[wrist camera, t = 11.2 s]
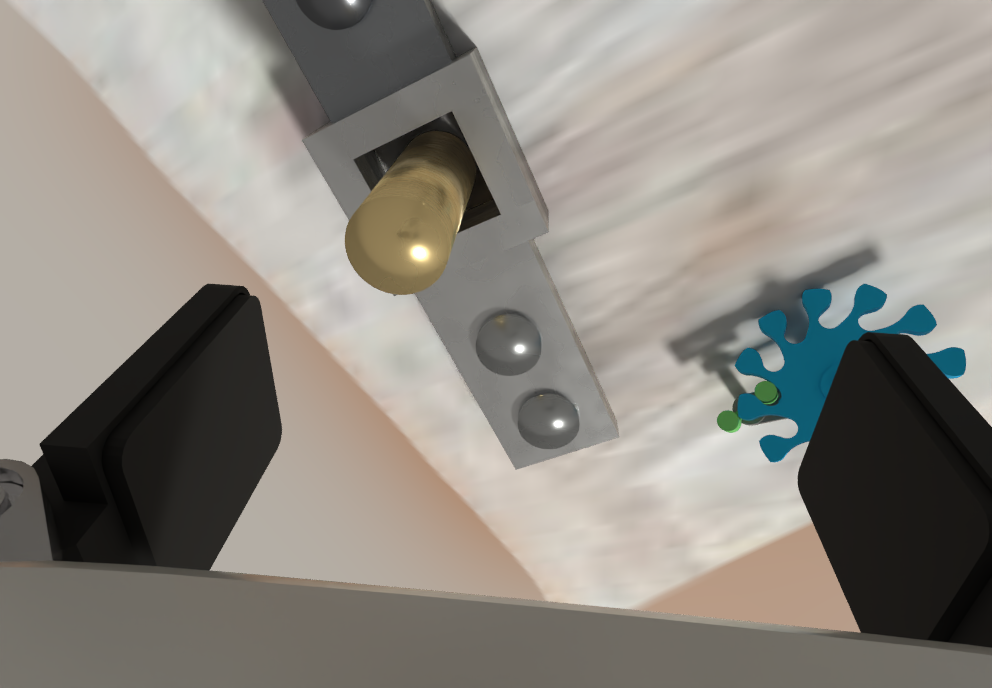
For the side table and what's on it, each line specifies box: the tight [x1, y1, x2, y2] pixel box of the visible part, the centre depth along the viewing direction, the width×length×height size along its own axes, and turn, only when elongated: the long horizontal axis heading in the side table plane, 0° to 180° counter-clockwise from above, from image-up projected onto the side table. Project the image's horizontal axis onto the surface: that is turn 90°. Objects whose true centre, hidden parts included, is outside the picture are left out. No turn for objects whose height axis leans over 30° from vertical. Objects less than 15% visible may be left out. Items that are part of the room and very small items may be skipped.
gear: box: [717, 284, 966, 462], centre depth 33 cm, size 11×6×10 cm
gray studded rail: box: [263, 0, 619, 469], centre depth 29 cm, size 32×8×4 cm, turn 25°
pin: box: [345, 131, 476, 295], centre depth 27 cm, size 4×4×10 cm
